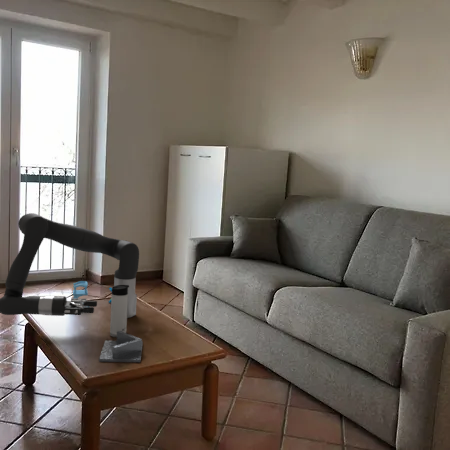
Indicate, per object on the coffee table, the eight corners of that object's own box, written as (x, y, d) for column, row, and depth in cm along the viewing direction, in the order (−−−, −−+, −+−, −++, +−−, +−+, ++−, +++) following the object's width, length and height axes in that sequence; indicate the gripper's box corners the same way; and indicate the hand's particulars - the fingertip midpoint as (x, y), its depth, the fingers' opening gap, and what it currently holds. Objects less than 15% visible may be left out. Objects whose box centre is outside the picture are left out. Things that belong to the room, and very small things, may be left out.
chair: (70, 304, 241) (70, 279, 239) (88, 304, 243) (89, 279, 241) (70, 309, 233) (70, 283, 232) (89, 309, 236) (90, 283, 234)
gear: (125, 302, 244) (111, 287, 242) (116, 311, 243) (101, 296, 242) (125, 299, 255) (111, 284, 253) (116, 307, 254) (102, 293, 252)
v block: (98, 361, 177) (99, 347, 176) (105, 343, 195) (105, 330, 194) (140, 362, 179) (140, 348, 178) (142, 343, 196) (143, 331, 196)
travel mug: (127, 337, 203) (129, 287, 200) (110, 337, 201) (112, 287, 198) (126, 331, 208) (128, 283, 206) (109, 332, 207) (111, 283, 204)
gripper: (48, 301, 193) (93, 302, 195) (56, 291, 207) (98, 292, 209) (48, 320, 194) (92, 322, 196) (56, 309, 208) (97, 310, 210)
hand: (95, 306), depth 202 cm, fingers open, 8 cm apart
